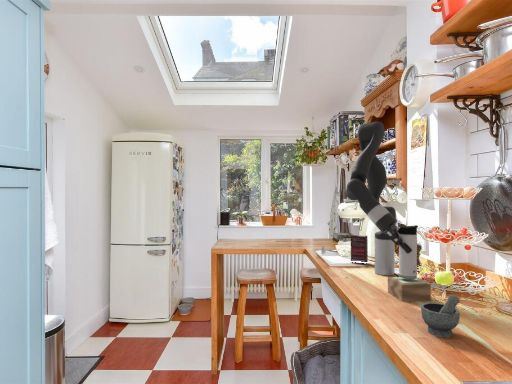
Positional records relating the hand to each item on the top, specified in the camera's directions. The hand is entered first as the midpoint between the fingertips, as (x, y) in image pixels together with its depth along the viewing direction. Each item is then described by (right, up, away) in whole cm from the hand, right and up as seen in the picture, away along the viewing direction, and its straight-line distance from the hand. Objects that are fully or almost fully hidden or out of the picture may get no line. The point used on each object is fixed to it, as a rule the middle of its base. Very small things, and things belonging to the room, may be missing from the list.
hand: (412, 250), depth 126 cm
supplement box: (-1, -18, +63) cm, 65 cm away
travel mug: (-1, -11, +1) cm, 11 cm away
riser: (-1, -18, +1) cm, 18 cm away
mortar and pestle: (-8, -18, -33) cm, 38 cm away
